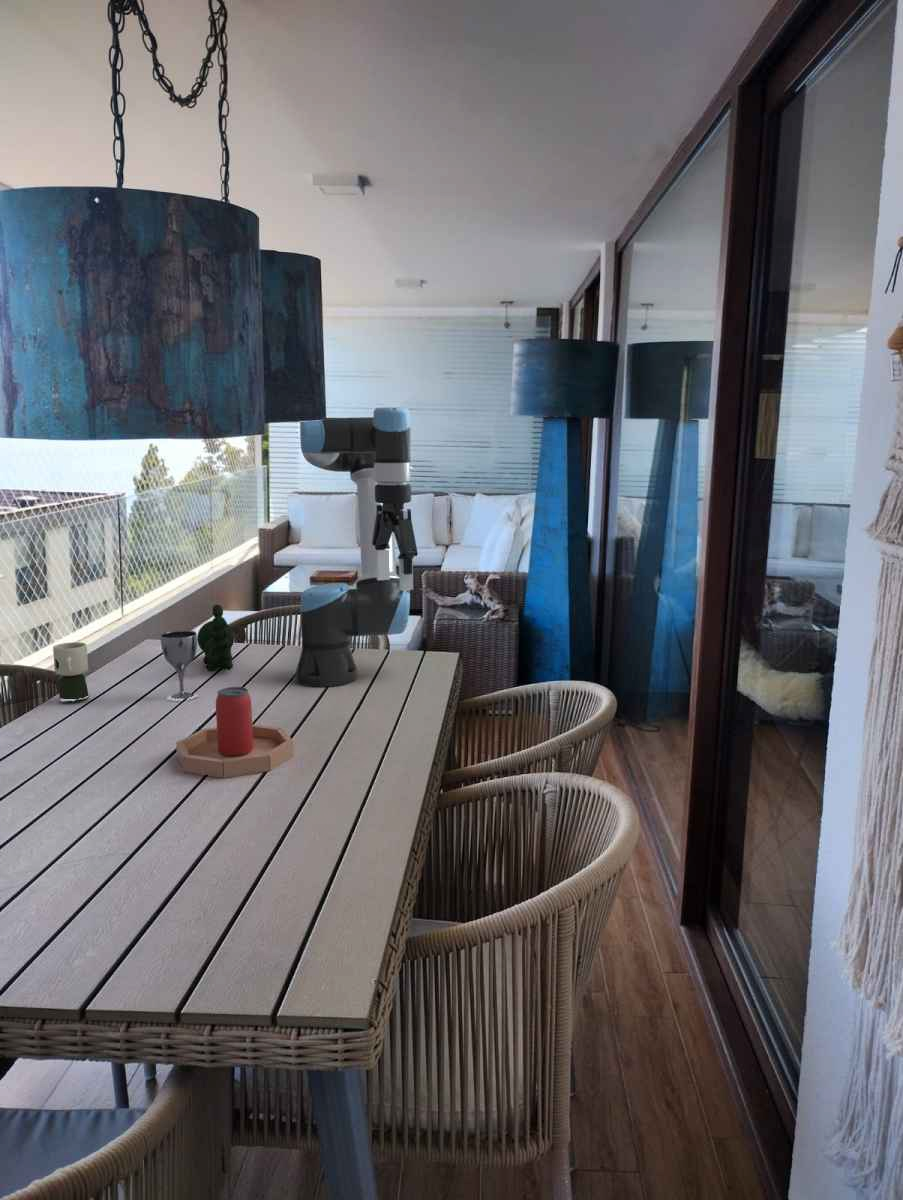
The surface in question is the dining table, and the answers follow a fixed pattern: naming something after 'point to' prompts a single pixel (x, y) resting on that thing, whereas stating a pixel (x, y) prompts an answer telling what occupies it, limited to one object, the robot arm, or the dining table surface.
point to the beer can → (234, 721)
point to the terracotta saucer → (205, 758)
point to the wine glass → (179, 654)
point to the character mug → (71, 669)
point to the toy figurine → (216, 641)
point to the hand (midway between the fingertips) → (394, 584)
